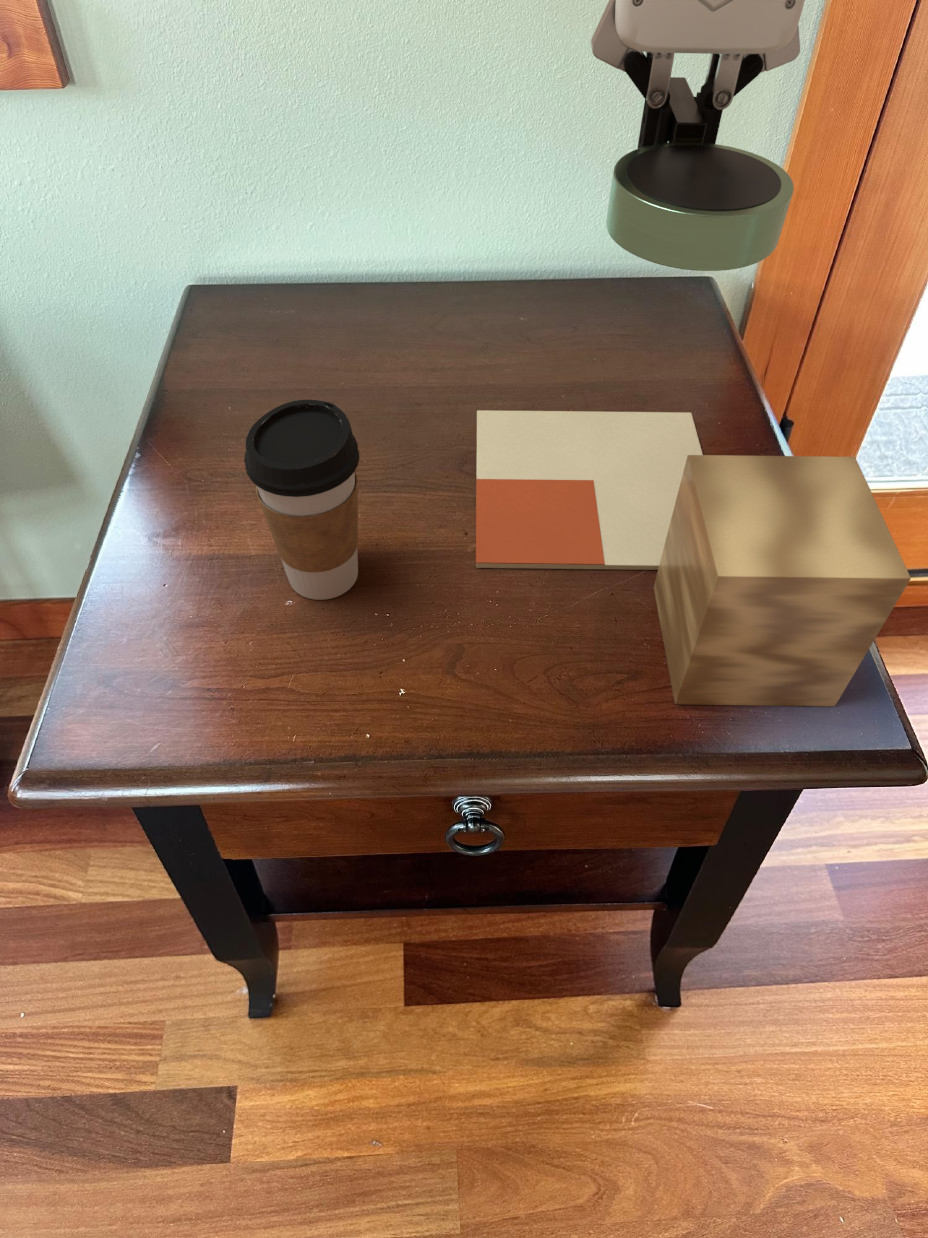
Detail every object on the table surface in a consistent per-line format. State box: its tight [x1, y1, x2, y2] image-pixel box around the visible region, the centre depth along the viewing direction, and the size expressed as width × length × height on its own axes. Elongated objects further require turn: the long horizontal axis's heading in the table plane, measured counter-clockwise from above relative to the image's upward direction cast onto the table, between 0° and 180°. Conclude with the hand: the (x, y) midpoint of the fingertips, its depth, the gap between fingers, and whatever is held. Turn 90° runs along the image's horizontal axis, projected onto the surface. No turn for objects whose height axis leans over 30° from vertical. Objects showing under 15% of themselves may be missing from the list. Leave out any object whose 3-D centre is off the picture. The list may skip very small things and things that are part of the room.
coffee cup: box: [243, 399, 360, 601], centre depth 66 cm, size 8×8×15 cm
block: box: [653, 454, 912, 707], centre depth 61 cm, size 12×12×14 cm
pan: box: [605, 76, 795, 272], centre depth 50 cm, size 18×10×4 cm, turn 179°
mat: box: [475, 409, 704, 571], centre depth 79 cm, size 22×22×1 cm
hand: (671, 167), depth 54 cm, fingers closed on pan
